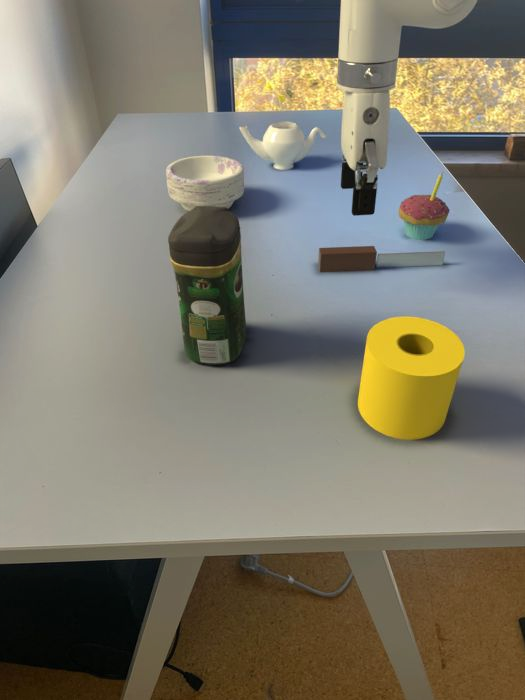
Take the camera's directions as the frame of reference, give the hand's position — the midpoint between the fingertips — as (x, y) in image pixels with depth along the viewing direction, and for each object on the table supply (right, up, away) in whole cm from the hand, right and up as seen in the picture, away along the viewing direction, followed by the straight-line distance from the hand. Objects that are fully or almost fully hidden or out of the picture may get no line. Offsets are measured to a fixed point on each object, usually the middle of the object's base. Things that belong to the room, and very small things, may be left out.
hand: (356, 200), depth 78 cm
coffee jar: (-20, -22, -8) cm, 31 cm away
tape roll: (+2, -29, -17) cm, 34 cm away
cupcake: (+14, -2, +16) cm, 22 cm away
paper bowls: (-25, +7, +28) cm, 38 cm away
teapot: (-9, +21, +45) cm, 50 cm away
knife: (+5, -9, +8) cm, 13 cm away
